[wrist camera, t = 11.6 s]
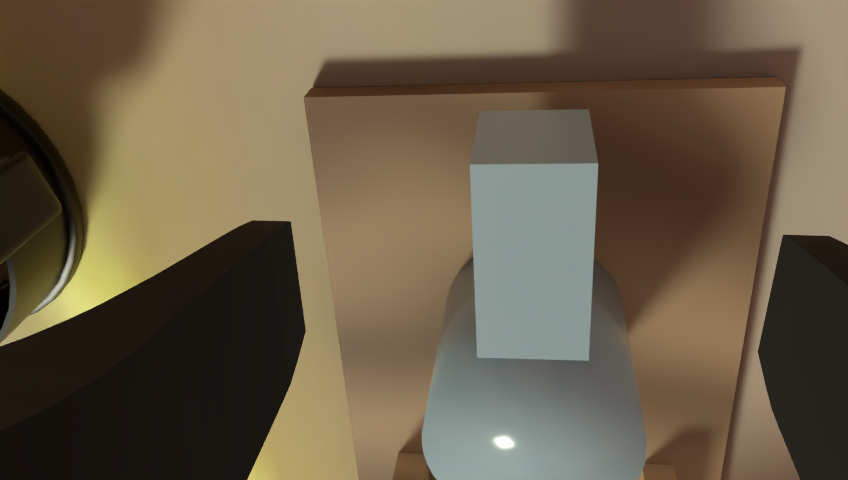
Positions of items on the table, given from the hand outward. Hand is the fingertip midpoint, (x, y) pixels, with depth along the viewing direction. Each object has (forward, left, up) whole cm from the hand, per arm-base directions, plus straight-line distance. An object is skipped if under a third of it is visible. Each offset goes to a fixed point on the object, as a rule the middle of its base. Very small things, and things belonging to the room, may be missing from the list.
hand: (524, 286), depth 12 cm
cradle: (-9, 0, -10) cm, 13 cm away
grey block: (-4, 0, -9) cm, 10 cm away
